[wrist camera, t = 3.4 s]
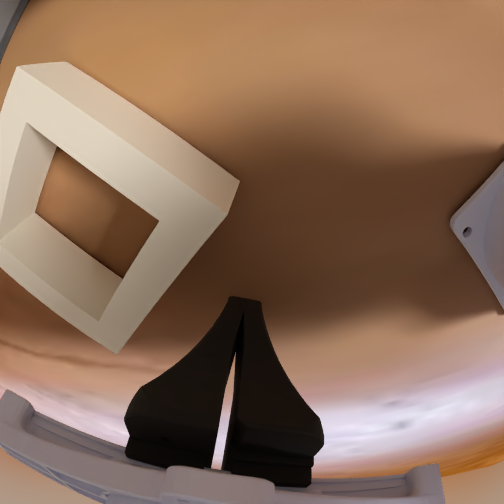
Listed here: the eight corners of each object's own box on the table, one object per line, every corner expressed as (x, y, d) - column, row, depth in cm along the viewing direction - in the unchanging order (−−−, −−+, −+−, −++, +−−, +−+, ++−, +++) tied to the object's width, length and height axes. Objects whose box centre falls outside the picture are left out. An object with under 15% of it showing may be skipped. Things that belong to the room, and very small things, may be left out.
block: (240, 181, 12) (227, 214, 9) (137, 313, 16) (117, 354, 13) (66, 61, 9) (17, 66, 7) (11, 217, 13) (-23, 245, 11)
